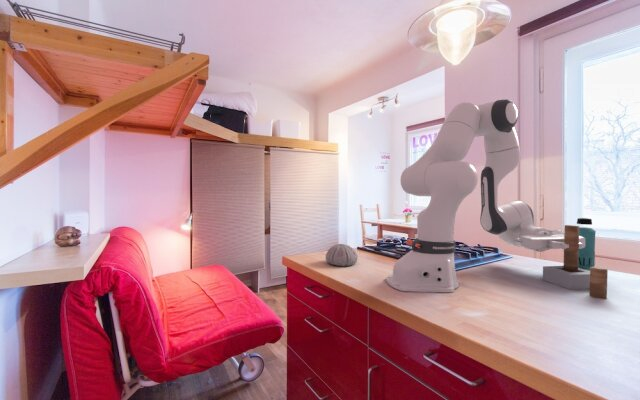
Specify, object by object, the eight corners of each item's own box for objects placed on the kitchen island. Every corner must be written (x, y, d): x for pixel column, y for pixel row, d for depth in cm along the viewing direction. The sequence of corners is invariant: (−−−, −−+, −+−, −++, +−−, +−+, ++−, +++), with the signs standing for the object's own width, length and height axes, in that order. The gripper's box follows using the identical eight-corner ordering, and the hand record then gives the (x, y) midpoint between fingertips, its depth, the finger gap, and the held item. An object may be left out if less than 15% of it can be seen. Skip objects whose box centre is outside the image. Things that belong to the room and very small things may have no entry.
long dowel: (570, 277, 93) (572, 226, 93) (560, 273, 97) (561, 225, 96) (581, 276, 94) (582, 226, 93) (570, 273, 97) (571, 224, 97)
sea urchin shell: (347, 258, 131) (347, 240, 131) (364, 265, 119) (364, 245, 118) (319, 261, 125) (320, 243, 125) (335, 269, 113) (335, 248, 113)
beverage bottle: (585, 270, 111) (586, 217, 111) (600, 275, 105) (601, 219, 104) (566, 270, 112) (567, 217, 111) (580, 275, 105) (581, 218, 105)
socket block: (571, 289, 90) (571, 274, 90) (542, 279, 100) (543, 266, 100) (600, 288, 91) (600, 273, 91) (569, 278, 101) (569, 265, 101)
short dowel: (599, 298, 82) (599, 270, 82) (585, 294, 86) (586, 267, 85) (610, 298, 83) (611, 269, 82) (596, 293, 86) (597, 266, 86)
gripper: (511, 231, 107) (544, 237, 93) (562, 229, 109) (602, 235, 95) (510, 248, 107) (544, 257, 93) (561, 246, 109) (601, 255, 96)
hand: (574, 246), depth 94 cm, fingers closed on long dowel, 4 cm apart
